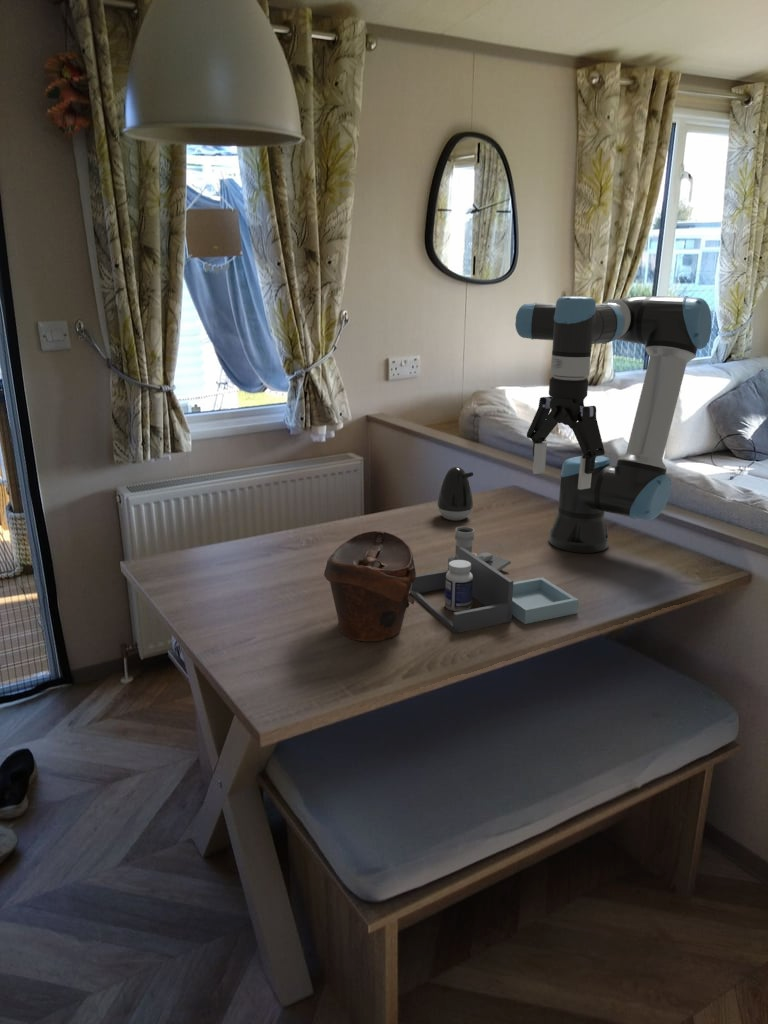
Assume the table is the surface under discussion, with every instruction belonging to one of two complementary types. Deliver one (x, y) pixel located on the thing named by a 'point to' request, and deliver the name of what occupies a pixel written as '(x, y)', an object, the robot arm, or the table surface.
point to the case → (371, 585)
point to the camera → (464, 540)
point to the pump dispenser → (455, 495)
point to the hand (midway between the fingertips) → (560, 480)
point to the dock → (486, 589)
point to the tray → (541, 601)
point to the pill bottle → (459, 586)
